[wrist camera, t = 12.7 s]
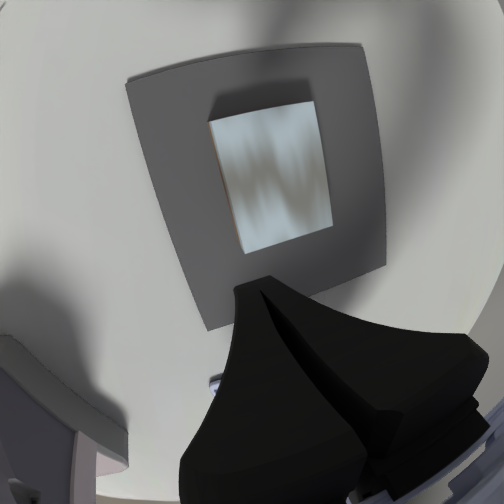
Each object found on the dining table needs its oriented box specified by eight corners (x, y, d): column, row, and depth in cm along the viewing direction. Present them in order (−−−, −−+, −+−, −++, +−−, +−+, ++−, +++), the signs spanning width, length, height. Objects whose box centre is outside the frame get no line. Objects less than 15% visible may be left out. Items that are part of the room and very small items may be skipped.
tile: (332, 225, 18) (245, 254, 18) (320, 217, 20) (238, 242, 19) (313, 101, 15) (210, 121, 14) (300, 102, 16) (207, 122, 16)
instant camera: (35, 456, 25) (29, 537, 12) (-64, 359, 15) (-103, 447, 2) (145, 443, 27) (159, 555, 14) (23, 315, 18) (-40, 473, 4)
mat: (383, 262, 24) (386, 264, 24) (206, 328, 22) (207, 331, 21) (359, 47, 16) (362, 47, 16) (125, 85, 14) (124, 84, 13)
